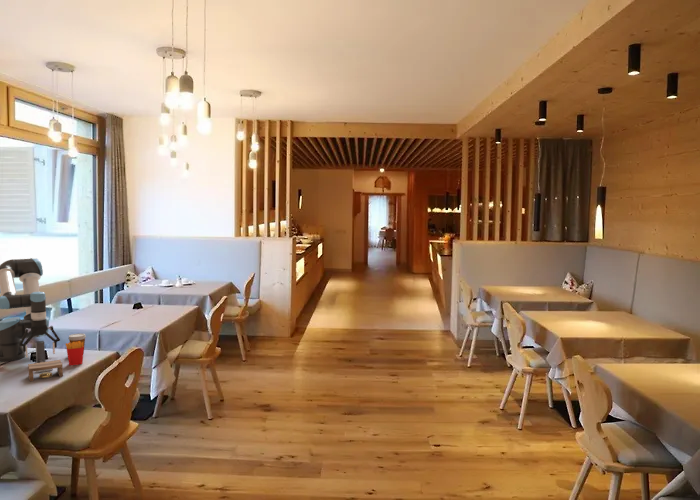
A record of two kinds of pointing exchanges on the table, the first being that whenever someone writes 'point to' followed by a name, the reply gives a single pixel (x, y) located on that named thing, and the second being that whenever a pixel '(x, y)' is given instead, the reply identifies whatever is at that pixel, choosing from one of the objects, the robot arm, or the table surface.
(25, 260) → the robot arm
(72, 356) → the french fries
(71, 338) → the disposable coffee cup
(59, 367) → the walnut bench
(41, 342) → the steel scraper
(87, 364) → the table surface
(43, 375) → the brass disc
